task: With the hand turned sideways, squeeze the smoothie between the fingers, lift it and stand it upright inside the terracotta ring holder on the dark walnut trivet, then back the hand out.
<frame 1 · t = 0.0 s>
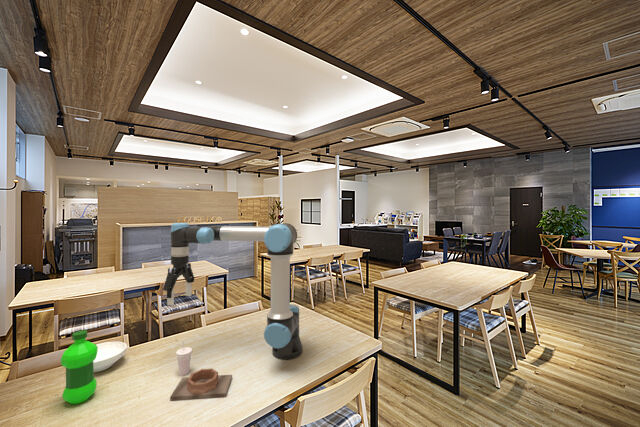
hand: (179, 300, 133), 28 cm above the table, tool pointing down, fingers open, 13 cm apart
trivet: (203, 388, 111), on the table
smoothie: (184, 373, 121), on the table
bowl: (100, 367, 126), on the table
plastic bottle: (80, 399, 104), on the table
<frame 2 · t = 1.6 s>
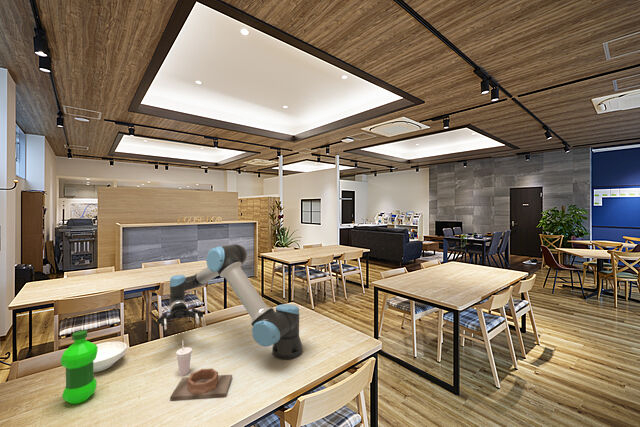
hand: (182, 323, 129), 18 cm above the table, tool horizontal, fingers open, 13 cm apart
nothing on the table moved.
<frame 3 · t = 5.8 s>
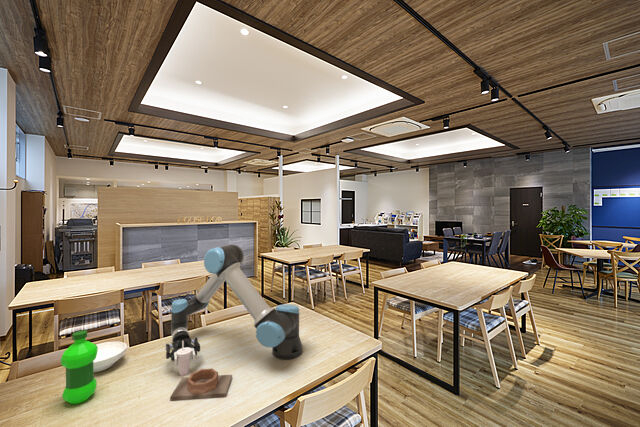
hand: (185, 360, 117), 8 cm above the table, tool horizontal, fingers closed on smoothie, 6 cm apart
smoothie: (184, 373, 121), on the table, touching gripper
everything else where it was.
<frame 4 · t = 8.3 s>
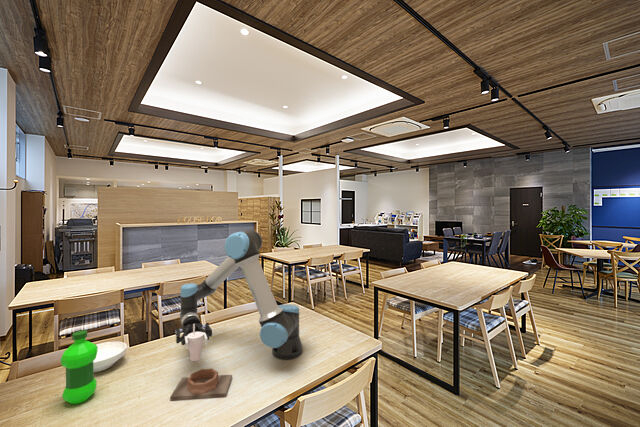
hand: (196, 344, 109), 19 cm above the table, tool horizontal, fingers closed on smoothie, 6 cm apart
smoothie: (195, 359, 113), point 10 cm above the table, touching gripper
everything else where it was.
when the fingers open (11 cm above the table, at t = 11.0 s): smoothie drops 1 cm, resting on trivet.
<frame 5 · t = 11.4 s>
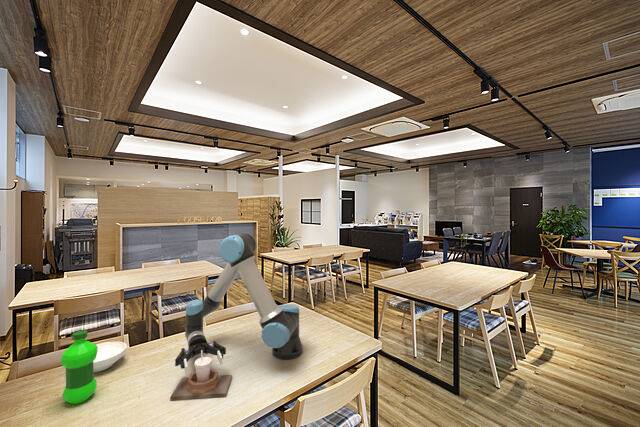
hand: (204, 365, 107), 11 cm above the table, tool horizontal, fingers open, 12 cm apart
smoothie: (203, 385, 111), point 1 cm above the table, touching trivet
everything else where it was.
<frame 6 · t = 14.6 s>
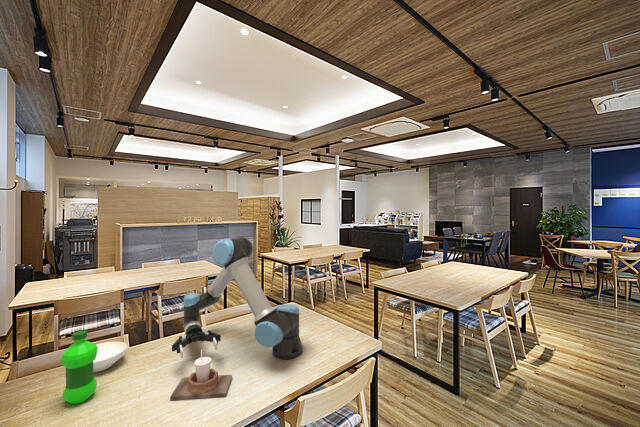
hand: (199, 350, 119), 11 cm above the table, tool horizontal, fingers open, 13 cm apart
nothing on the table moved.
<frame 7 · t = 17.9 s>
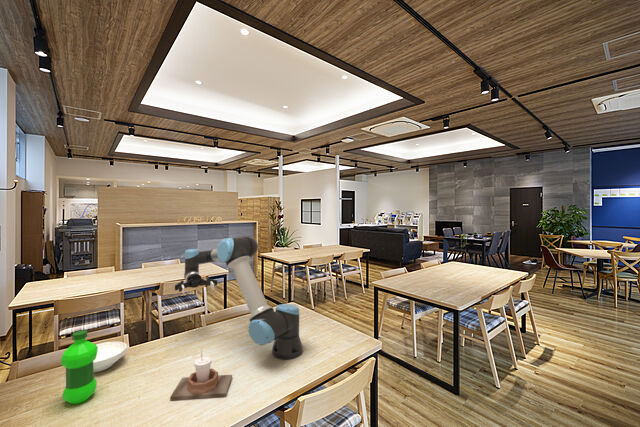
hand: (198, 288, 138), 32 cm above the table, tool horizontal, fingers open, 13 cm apart
nothing on the table moved.
at the end: smoothie 0.0 cm off-centre on the trivet, point 1.3 cm above the trivet's base; smoothie tilted 0°; the gripper is holding nothing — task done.
